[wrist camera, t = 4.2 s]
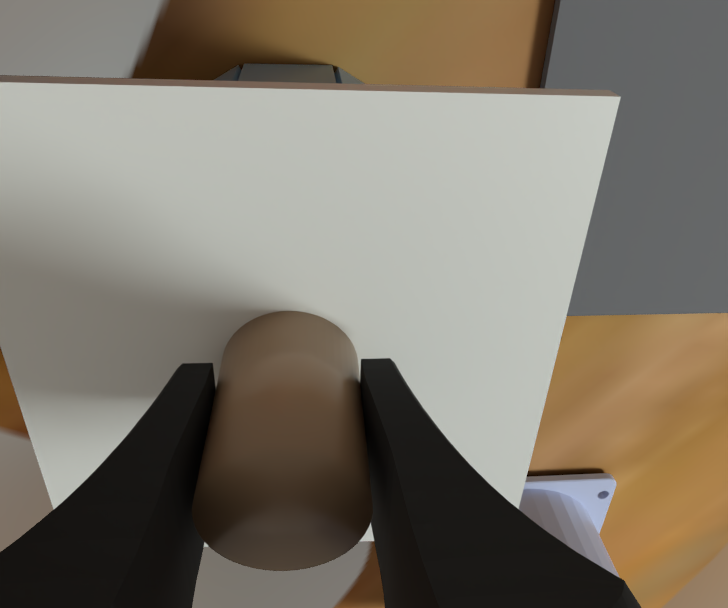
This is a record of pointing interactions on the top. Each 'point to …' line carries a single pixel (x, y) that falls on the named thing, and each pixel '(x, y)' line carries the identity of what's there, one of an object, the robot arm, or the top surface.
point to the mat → (652, 152)
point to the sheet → (289, 278)
